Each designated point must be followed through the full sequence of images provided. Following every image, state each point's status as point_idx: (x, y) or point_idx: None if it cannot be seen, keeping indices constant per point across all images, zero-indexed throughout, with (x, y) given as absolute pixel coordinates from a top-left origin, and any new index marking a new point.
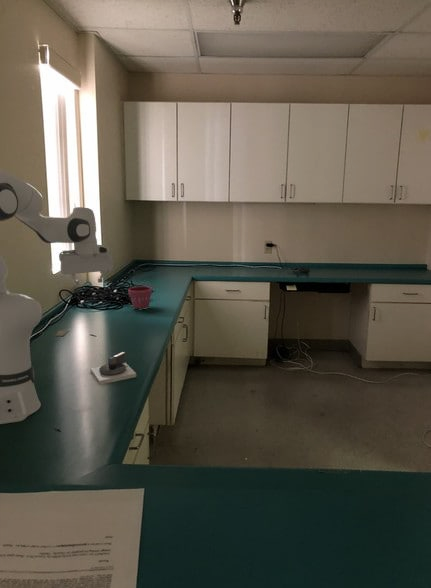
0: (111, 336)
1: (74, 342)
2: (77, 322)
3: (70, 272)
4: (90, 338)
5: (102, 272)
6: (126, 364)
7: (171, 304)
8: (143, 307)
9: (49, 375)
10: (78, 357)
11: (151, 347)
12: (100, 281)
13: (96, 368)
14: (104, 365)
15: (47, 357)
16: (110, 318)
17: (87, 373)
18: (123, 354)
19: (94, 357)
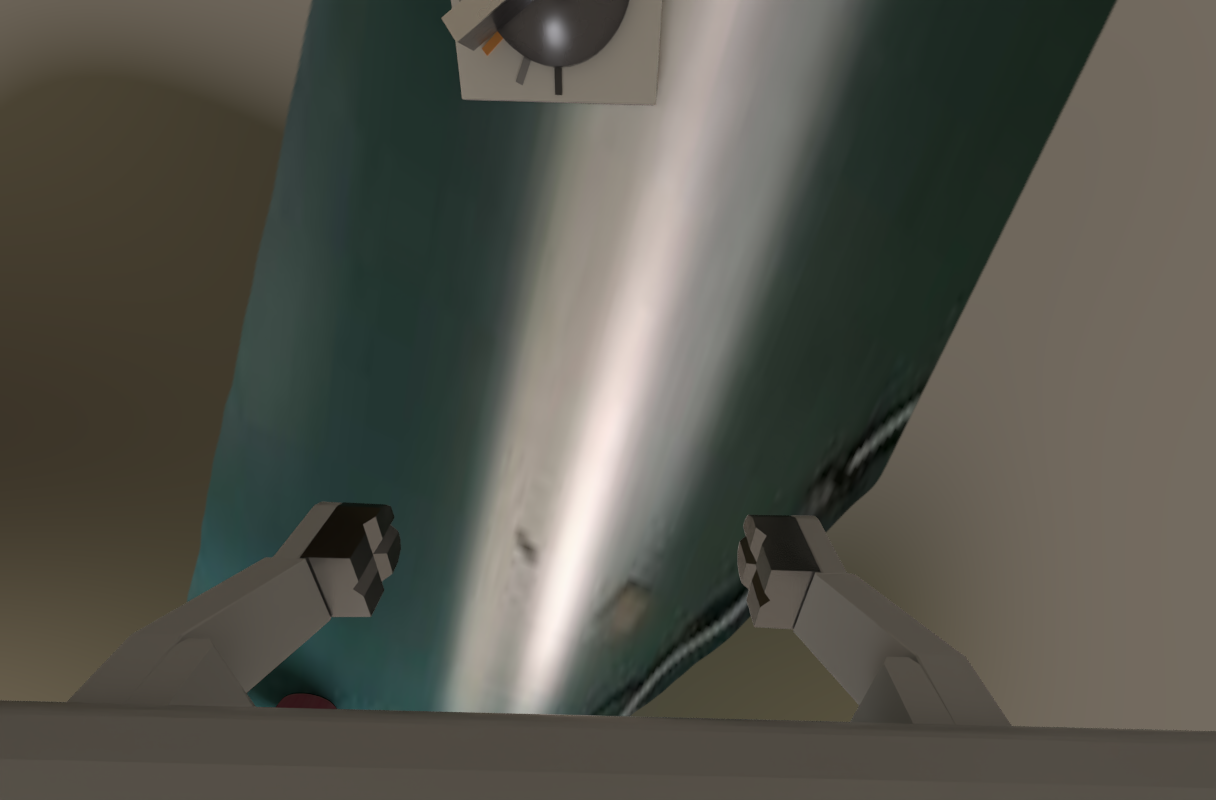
0: (461, 507)
1: (611, 510)
2: (549, 674)
3: (1138, 778)
4: (544, 523)
5: (153, 676)
6: (460, 44)
7: None
8: (295, 703)
9: (833, 179)
10: (645, 342)
11: (299, 294)
12: (350, 510)
13: (627, 81)
14: (587, 50)
15: (754, 406)
16: (432, 667)
17: (674, 92)
18: (457, 10)
19: (583, 305)
